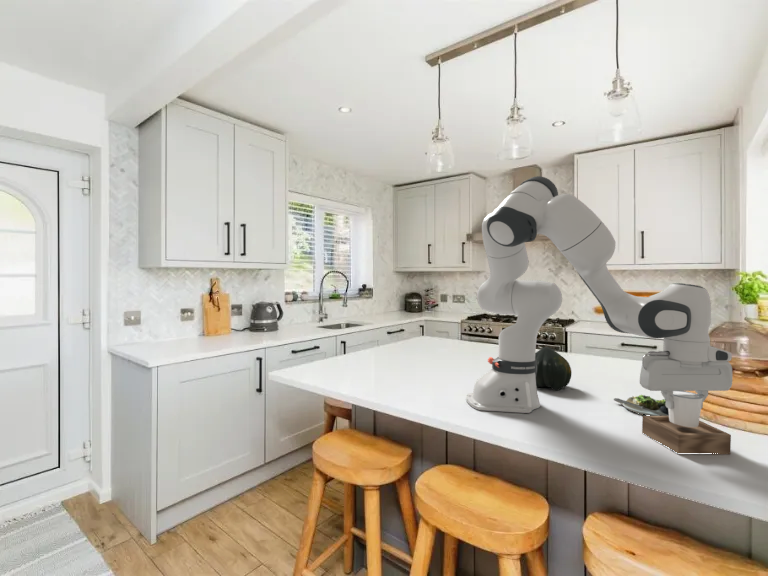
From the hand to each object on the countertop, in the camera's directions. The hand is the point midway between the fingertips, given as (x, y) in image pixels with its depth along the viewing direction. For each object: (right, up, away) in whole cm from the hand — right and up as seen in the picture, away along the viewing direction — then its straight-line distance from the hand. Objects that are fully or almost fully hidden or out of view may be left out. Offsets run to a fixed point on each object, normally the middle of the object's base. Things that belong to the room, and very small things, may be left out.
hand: (683, 408), depth 94 cm
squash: (-13, -7, +48) cm, 50 cm away
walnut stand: (0, -9, 0) cm, 9 cm away
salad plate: (+10, -8, +22) cm, 26 cm away
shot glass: (0, -4, 0) cm, 4 cm away
